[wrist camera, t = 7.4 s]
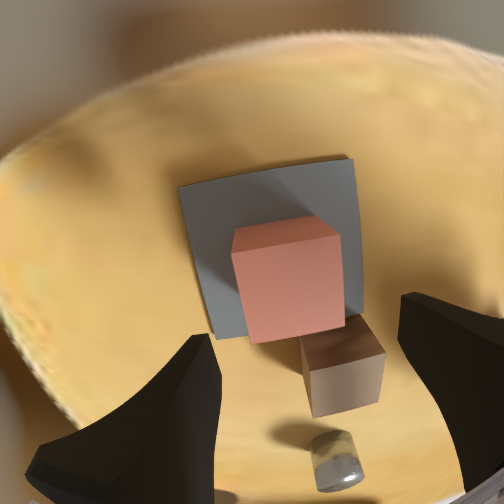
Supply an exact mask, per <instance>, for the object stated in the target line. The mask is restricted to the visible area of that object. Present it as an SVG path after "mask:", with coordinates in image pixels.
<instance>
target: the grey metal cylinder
mask: <svg viewBox="0 0 504 504" xmlns="http://www.w3.org/2000/svg"><path fill="white" fill-rule="evenodd" d="M309 449H310V454H311V459H312V464H313V469H314V475H315V480H316V485H317V490H318V491H320V492H325V493H327V492H336V491H341V490H344V489H347V488H350V487H352V486H354V485H356V484H358V483H359V482H360V481H362V480H363V478H364V472H363V469H362V466H361V463H360V460H359V457H358V454H357V451H356V448H355V445H354V442H353V439H352V436H351V434H350V433H349V432H347V431H341V430H339V431H332V432H328V433H325V434H322V435H320V436H318V437H317V438H315V439H314V440H313V441H312V442H311V443H310V445H309Z"/></svg>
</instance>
